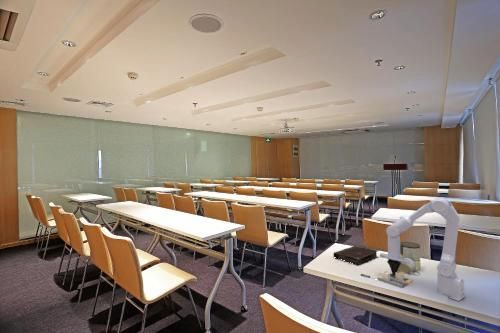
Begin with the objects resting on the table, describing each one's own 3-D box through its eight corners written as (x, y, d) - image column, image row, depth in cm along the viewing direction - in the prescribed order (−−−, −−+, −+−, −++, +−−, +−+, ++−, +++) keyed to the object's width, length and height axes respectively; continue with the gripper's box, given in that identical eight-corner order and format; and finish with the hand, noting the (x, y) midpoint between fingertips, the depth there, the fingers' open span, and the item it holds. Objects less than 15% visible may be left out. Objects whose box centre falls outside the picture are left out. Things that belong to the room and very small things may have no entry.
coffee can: (396, 265, 156) (395, 242, 156) (409, 264, 159) (409, 241, 159) (410, 272, 146) (410, 247, 146) (425, 270, 149) (424, 245, 149)
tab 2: (404, 280, 132) (404, 271, 132) (401, 282, 131) (401, 272, 131) (398, 278, 135) (398, 269, 135) (395, 280, 133) (395, 271, 133)
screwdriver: (382, 282, 133) (382, 278, 133) (381, 283, 132) (381, 279, 132) (361, 276, 140) (361, 273, 140) (360, 277, 139) (360, 274, 139)
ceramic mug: (395, 273, 145) (395, 259, 145) (401, 269, 150) (401, 256, 150) (417, 279, 137) (417, 264, 137) (422, 275, 142) (422, 261, 142)
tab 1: (390, 280, 132) (390, 271, 132) (387, 282, 131) (387, 273, 131) (384, 278, 135) (384, 269, 135) (381, 280, 133) (381, 271, 133)
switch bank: (412, 284, 130) (412, 280, 130) (402, 290, 124) (401, 285, 124) (388, 276, 140) (388, 272, 140) (377, 281, 134) (377, 277, 134)
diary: (333, 259, 170) (332, 251, 171) (353, 252, 186) (353, 244, 186) (359, 267, 156) (359, 258, 156) (380, 258, 171) (379, 250, 171)
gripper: (412, 250, 132) (413, 277, 131) (384, 243, 143) (384, 268, 143) (406, 252, 128) (406, 280, 127) (377, 246, 139) (377, 271, 139)
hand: (394, 274), depth 135 cm, fingers closed
